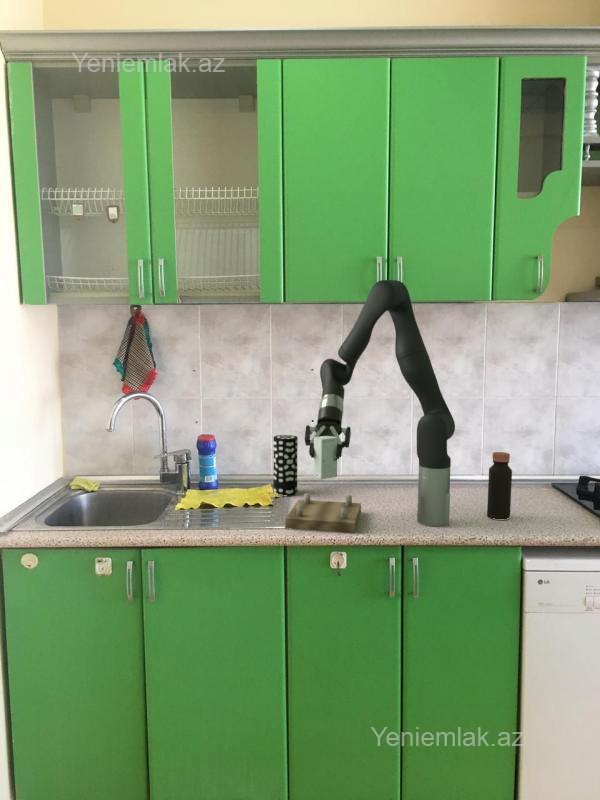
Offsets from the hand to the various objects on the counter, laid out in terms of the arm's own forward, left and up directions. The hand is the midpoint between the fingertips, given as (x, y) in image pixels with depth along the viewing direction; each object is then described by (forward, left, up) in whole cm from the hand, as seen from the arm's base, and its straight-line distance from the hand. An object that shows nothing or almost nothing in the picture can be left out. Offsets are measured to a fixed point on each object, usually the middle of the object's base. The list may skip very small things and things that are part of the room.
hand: (324, 456), depth 182 cm
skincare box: (0, -2, -7) cm, 7 cm away
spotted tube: (+18, -28, -20) cm, 39 cm away
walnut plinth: (0, -1, -20) cm, 20 cm away
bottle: (-52, -15, -20) cm, 58 cm away
